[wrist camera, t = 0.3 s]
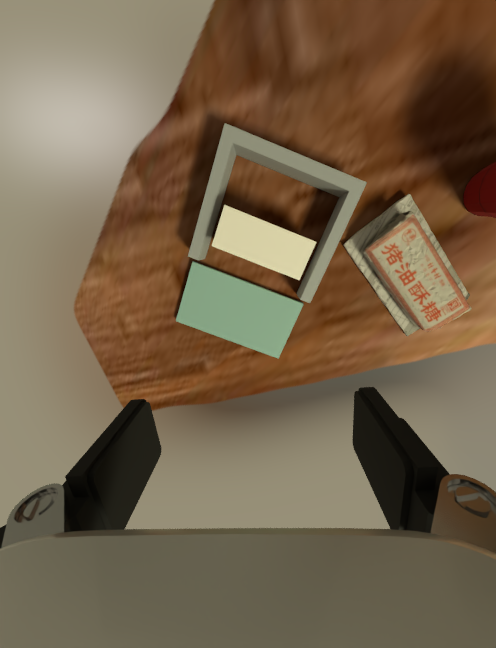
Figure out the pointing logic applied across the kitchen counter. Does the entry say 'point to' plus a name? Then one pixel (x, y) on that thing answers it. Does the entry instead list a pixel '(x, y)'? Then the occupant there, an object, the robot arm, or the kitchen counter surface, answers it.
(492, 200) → the plastic cup
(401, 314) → the packaged product
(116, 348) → the kitchen counter surface
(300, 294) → the frame
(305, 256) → the carton
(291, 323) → the pad
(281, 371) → the kitchen counter surface
